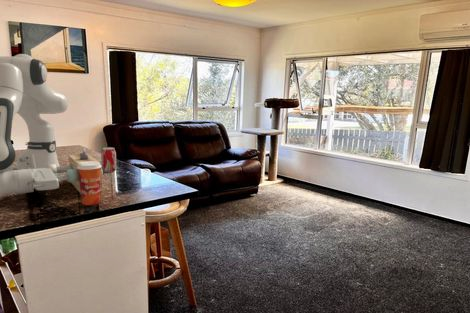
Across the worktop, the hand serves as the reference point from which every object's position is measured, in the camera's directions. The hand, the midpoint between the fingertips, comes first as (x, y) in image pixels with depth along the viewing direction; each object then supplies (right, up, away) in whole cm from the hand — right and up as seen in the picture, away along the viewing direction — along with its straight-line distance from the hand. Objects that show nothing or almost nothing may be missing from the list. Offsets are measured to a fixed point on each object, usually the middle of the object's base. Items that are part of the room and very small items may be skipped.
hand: (67, 176), depth 130 cm
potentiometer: (+3, +7, +9) cm, 11 cm away
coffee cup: (+13, -9, -9) cm, 18 cm away
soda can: (+2, 0, +38) cm, 38 cm away
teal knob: (+5, -2, +4) cm, 7 cm away
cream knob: (-7, 0, +11) cm, 13 cm away
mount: (+2, -5, +11) cm, 12 cm away
